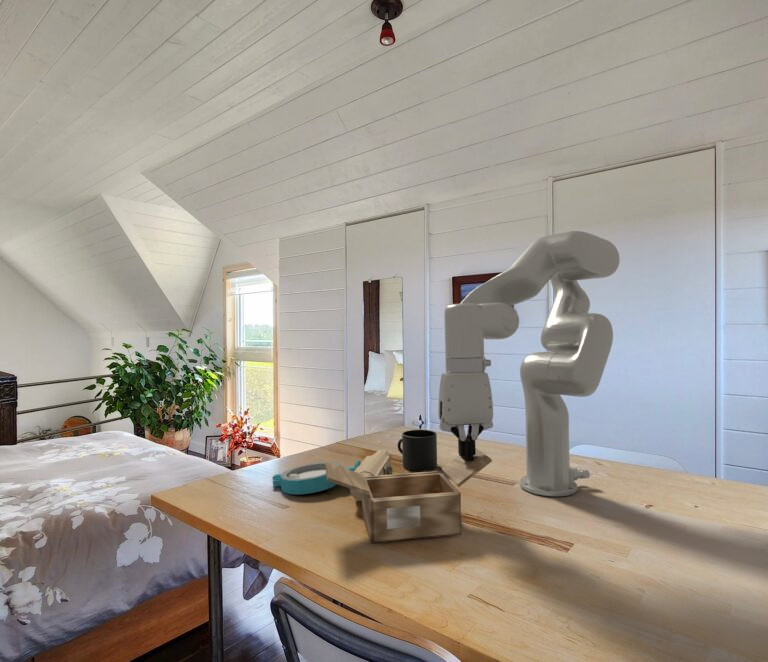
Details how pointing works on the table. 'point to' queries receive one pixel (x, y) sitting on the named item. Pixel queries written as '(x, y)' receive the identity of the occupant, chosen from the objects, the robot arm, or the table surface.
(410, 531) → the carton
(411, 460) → the mug
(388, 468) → the butterfly valve
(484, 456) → the flap
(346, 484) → the flap
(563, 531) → the table surface
